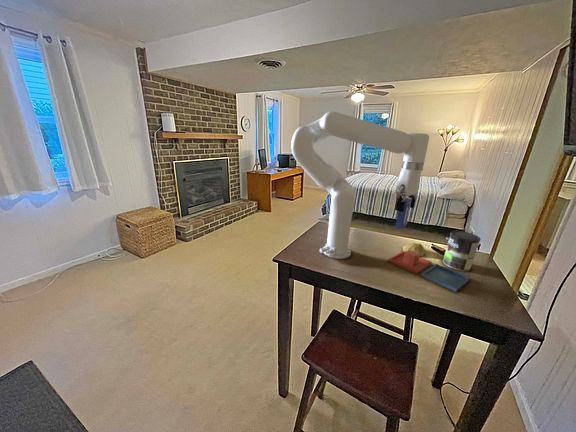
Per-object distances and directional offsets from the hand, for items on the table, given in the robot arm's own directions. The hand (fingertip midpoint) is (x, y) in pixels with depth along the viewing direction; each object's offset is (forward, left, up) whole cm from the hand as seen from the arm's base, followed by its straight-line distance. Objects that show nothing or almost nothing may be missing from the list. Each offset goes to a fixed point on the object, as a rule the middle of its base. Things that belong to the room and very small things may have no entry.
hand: (404, 208), depth 100 cm
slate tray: (+1, -20, -23) cm, 31 cm away
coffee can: (+17, -19, -23) cm, 35 cm away
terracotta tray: (+1, -6, -23) cm, 24 cm away
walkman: (0, 0, -8) cm, 8 cm away
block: (+1, -6, -23) cm, 24 cm away
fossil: (+14, -2, -23) cm, 27 cm away
